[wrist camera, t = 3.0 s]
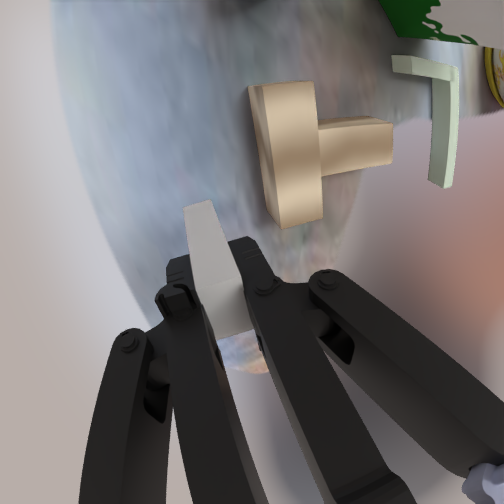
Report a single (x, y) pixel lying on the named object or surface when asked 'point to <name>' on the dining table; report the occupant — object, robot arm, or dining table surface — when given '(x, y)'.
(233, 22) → the dining table surface
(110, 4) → the dining table surface
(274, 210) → the t block
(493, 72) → the flowerpot
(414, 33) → the milk carton
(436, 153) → the corner stop
